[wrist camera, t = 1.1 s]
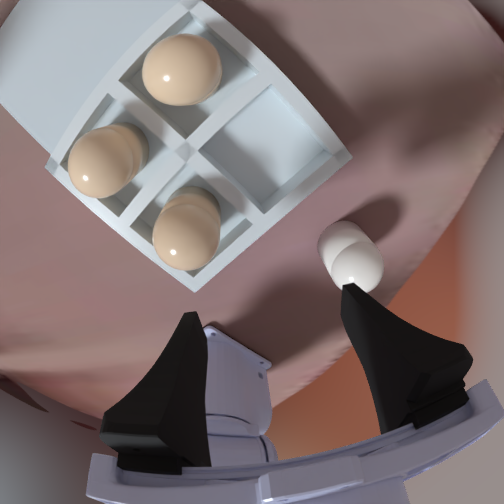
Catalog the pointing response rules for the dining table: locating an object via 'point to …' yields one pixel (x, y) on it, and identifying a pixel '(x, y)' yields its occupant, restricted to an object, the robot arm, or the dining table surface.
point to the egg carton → (166, 116)
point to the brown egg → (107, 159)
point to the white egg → (350, 256)
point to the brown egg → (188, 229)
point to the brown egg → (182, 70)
